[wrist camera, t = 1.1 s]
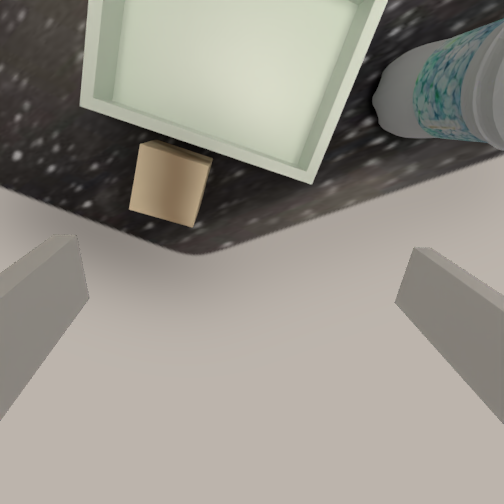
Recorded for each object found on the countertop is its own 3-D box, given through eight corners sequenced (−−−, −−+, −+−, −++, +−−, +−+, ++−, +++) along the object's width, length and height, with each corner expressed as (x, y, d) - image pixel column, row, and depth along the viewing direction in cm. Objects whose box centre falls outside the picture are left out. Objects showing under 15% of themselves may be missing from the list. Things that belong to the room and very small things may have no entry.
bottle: (396, 154, 27) (744, 230, 9) (347, 103, 25) (668, 58, 6) (456, 90, 25) (1074, 11, 7) (409, 28, 23) (1116, -335, 5)
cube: (146, 194, 27) (129, 209, 22) (156, 139, 25) (140, 143, 20) (199, 209, 28) (192, 227, 23) (213, 158, 26) (209, 166, 21)
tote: (103, 108, 24) (79, 105, 20) (129, -118, 18) (103, -177, 15) (300, 175, 27) (311, 184, 23) (369, 0, 22) (398, -25, 18)
